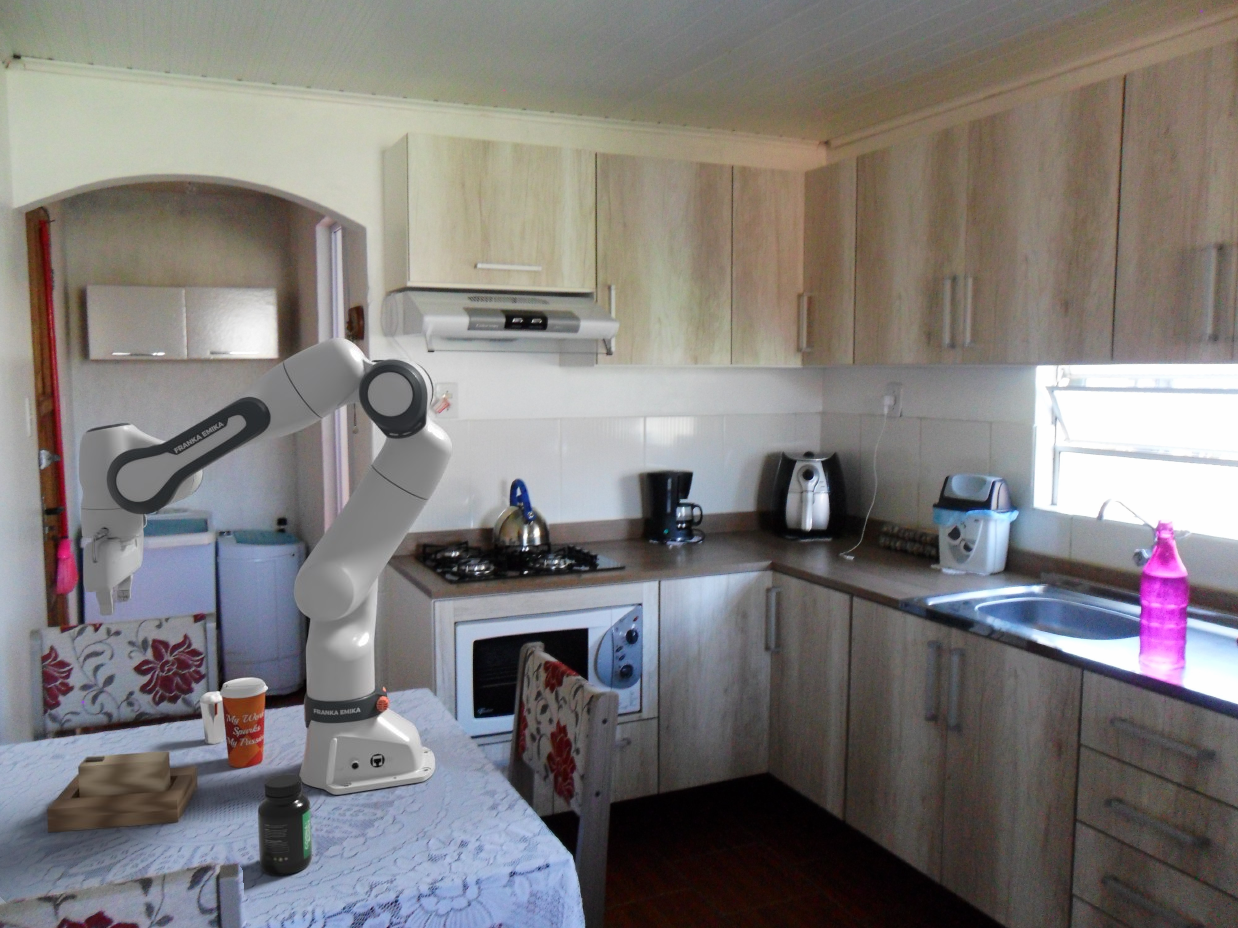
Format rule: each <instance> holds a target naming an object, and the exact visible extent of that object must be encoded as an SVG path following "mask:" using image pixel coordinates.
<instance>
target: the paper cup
mask: <svg viewBox="0 0 1238 928" xmlns="http://www.w3.org/2000/svg"><path fill="white" fill-rule="evenodd" d="M268 689H269V687H268V686H267V685H266V682H265V681H264V680H263V679H261V678H258V677H241V678H236V679H235V678H234V679H231V680H229V681H226V682H224V683H223V684H222V687H221V689H220V691H219V692H220V695H221V696H222V702H223V712H224V722H225V740H226V741H225V742H226V750H227V752H226V753H227V757H228V764H229V766H231V767H232V768H238V769H243V768H244V769H245V768H249V767H250V768H251V767H254V766H257V765H259V764H261V763H262V761H263V760H264V746H265V741H264V740H265V714H266V713H265V711H266V692H267V690H268Z"/></svg>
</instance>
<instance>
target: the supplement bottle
mask: <svg viewBox="0 0 1238 928" xmlns="http://www.w3.org/2000/svg"><path fill="white" fill-rule="evenodd" d="M303 790H304V789H303V782H302V779H301V777H300V776H299V774H292V773H284V774H279V775H275V776H271V777H269V778H268V779H267V780H266V781H265V782H264V799H263V800H262V801H261V802H260V804H259V806H258V809H257V823H258V824H257V825H258V828H257V829H258V849H259V850H258V854H259V867H260V869H261V871H262V872H263V873H265V874H266V875H269V876H277V877H278V876H279V877H281V876H288V875H289V876H290V875H292V874H295V873H298V872H301V871H303V870H304V869H306V868H308V866H309V865H310V863H311V862H312V860H313V859H312V858H313V852H312V851H313V850H312V849H313V845H312V842H313V841H312V825H311V824H312V820H311V819H312V818H311V817H312V816H311V803H310V799H309V798H308V797H307V796H306V795H305V794H304V793H303Z"/></svg>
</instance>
